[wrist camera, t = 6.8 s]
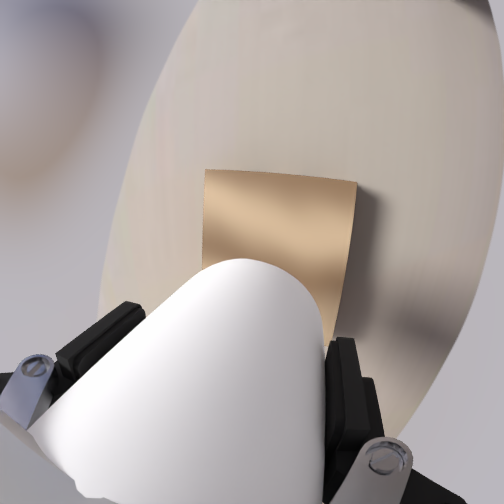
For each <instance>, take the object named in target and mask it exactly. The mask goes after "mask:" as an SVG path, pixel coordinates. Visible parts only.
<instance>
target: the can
mask: <svg viewBox="0 0 504 504" xmlns="http://www.w3.org/2000/svg"><path fill="white" fill-rule="evenodd" d="M325 412H326V404H325V353H324V335H323V325H322V319H321V315H320V312H319V309H318V306H317V304H316V302H315V300H314V299H313V297H312V296H311V294H310V293H309V291H308V290H307V289H306V288H305V287H304V286H303V285H302V284H301V283H300V282H299V281H298V280H297V279H296V278H295V277H293V276H292V275H290V274H289V273H287V272H286V271H284V270H282V269H280V268H278V267H276V266H274V265H271V264H268V263H265V262H261V261H257V260H252V259H232V260H227V261H223V262H220V263H217V264H214V265H212V266H210V267H208V268H206V269H204V270H202V271H201V272H199V273H197V274H196V275H195V276H194V277H192V278H191V279H190V280H189V281H187V282H186V283H185V284H184V285H183V286H182V287H180V288H179V289H178V290H177V291H176V292H175V293H174V294H172V295H171V296H170V297H169V298H168V299H167V300H166V301H164V302H163V303H162V304H161V305H160V306H159V307H158V308H157V309H155V310H154V311H153V312H152V313H151V314H150V315H149V316H148V317H146V318H145V319H144V320H143V321H142V322H141V323H140V324H139V325H138V326H136V327H135V328H134V329H133V330H132V331H131V332H130V333H129V334H128V335H127V336H125V337H124V338H123V339H122V340H121V341H120V342H119V343H118V344H117V345H116V346H115V347H113V348H112V349H111V350H110V351H109V352H108V353H107V354H106V355H105V356H104V357H103V358H102V359H100V360H99V361H98V362H97V363H96V364H95V365H94V366H93V367H92V368H91V369H90V370H89V371H88V372H87V373H85V374H84V375H83V376H82V377H81V378H80V379H79V380H78V381H77V382H76V383H75V384H74V385H73V386H72V387H71V388H70V389H69V390H68V391H66V392H65V393H64V394H63V395H62V396H61V397H60V398H59V399H58V400H57V401H56V402H55V403H54V404H53V405H52V406H51V407H50V408H49V409H48V410H47V411H46V412H45V413H44V414H43V415H42V416H41V417H40V418H39V419H38V420H37V421H36V422H35V423H34V424H33V425H32V426H31V427H30V428H29V429H28V430H27V432H29V433H30V434H31V435H32V436H33V437H34V439H35V441H36V443H37V444H38V446H39V447H40V449H41V450H42V451H43V453H44V454H45V455H46V456H47V457H48V458H49V459H50V460H51V461H52V462H53V463H54V464H55V465H56V466H57V467H58V468H59V469H60V470H62V471H63V472H64V473H65V474H67V475H68V476H69V477H71V478H72V479H74V480H75V484H76V488H77V490H78V491H79V492H80V493H81V494H82V495H83V496H84V497H86V498H103V497H104V498H107V499H109V500H111V501H113V502H115V503H118V504H322V497H323V483H324V464H325Z"/></svg>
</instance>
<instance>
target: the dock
mask: <svg viewBox="0 0 504 504" xmlns="http://www.w3.org/2000/svg"><path fill="white" fill-rule="evenodd" d="M356 190H357V182H352V181H345V180H337V179H329V178H320V177H310V176H301V175H291V174H279V173H266V172H251V171H234V170H209V169H205V184H204V208H203V243H202V270H204V269H206V268H208V267H210V266H212V265H214V264H217V263H220V262H223V261H227V260H232V259H252V260H257V261H261V262H265V263H268V264H271V265H274V266H276V267H278V268H280V269H282V270H284V271H286V272H287V273H289V274H290V275H292V276H293V277H295V278H296V279H297V280H298V281H299V282H300V283H301V284H302V285H303V286H304V287H305V288H306V289H307V290H308V291H309V293H310V294H311V296H312V297H313V299H314V300H315V302H316V304H317V306H318V309H319V312H320V315H321V319H322V325H323V335H324V346H329V343H330V341H331V340H332V337H333V332H334V328H335V323H336V319H337V314H338V309H339V304H340V299H341V294H342V288H343V283H344V277H345V271H346V265H347V259H348V253H349V246H350V239H351V232H352V225H353V217H354V208H355V200H356Z"/></svg>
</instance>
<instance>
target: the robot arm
mask: <svg viewBox="0 0 504 504" xmlns="http://www.w3.org/2000/svg"><path fill="white" fill-rule="evenodd" d="M145 318H146V316H145V311H144V309H142V307H141V305H140V304H136V303H132V302H128V301H125V302H124V303H122V304H121V305H119V306H118V307H117V308H115V309H114V310H113V311H111V312H110V313H108V314H107V315H106V316H104V317H103V318H102V319H100V320H99V321H98V322H96V323H95V324H94V325H92V326H91V327H90V328H88V329H87V330H86V331H84V332H83V333H82V334H80V335H79V336H78V337H76V338H75V339H74V340H72V341H71V342H70V343H68V344H67V345H66V346H64V347H63V348H62V349H61V350H59V351H58V352H57V353H55V354H56V357H57V361H56V362H55V363H54V361H53V360H52V358H50V357H49V356H47V355H43V354H36V355H31V356H29V357H26V358H25V359H24V360H22V361H21V362H20V364H19V365H18V367H17V368H16V370H15V371H14V372H12V373H0V504H118V503H115V502H113V501H111V500H109V499H107V498H104V497H103V498H86V497H84V496H83V495H82V494H81V493H80V492H79V491H78V490H77V488H76V484H75V480H74V479H72V478H71V477H69V476H68V475H67V474H65V473H64V472H63V471H62V470H60V469H59V468H58V467H57V466H56V465H55V464H54V463H53V462H52V461H51V460H50V459H49V458H48V457H47V456H46V455H45V454H44V453H43V451H42V450H41V449H40V447H39V446H38V444H37V443H36V441H35V439H34V437H33V436H32V435H31V434H30V433H29V432H27V430H28V429H29V428H30V427H31V426H32V425H33V424H34V423H35V422H36V421H37V420H38V419H39V418H40V417H41V416H42V415H43V414H44V413H45V412H46V411H47V410H48V409H49V408H50V407H51V406H52V405H53V404H54V403H55V402H56V401H57V400H58V399H59V398H60V397H61V396H62V395H63V394H64V393H65V392H66V391H68V390H69V389H70V388H71V387H72V386H73V385H74V384H75V383H76V382H77V381H78V380H79V379H80V378H81V377H82V376H83V375H84V374H85V373H87V372H88V371H89V370H90V369H91V368H92V367H93V366H94V365H95V364H96V363H97V362H98V361H99V360H100V359H102V358H103V357H104V356H105V355H106V354H107V353H108V352H109V351H110V350H111V349H112V348H113V347H115V346H116V345H117V344H118V343H119V342H120V341H121V340H122V339H123V338H124V337H125V336H127V335H128V334H129V333H130V332H131V331H132V330H133V329H134V328H135V327H136V326H138V325H139V324H140V323H141V322H142V321H143V320H144V319H145ZM325 404H326V412H325V464H324V483H323V497H322V502H323V503H324V504H467V503H466V502H465V500H464V499H462V498H461V497H460V496H458V495H456V494H454V493H452V492H451V491H449V490H447V489H445V488H444V487H442V486H440V485H438V484H437V483H435V482H433V481H432V480H430V479H428V478H427V477H425V476H423V475H422V474H420V473H419V472H417V471H415V470H414V469H412V465H413V456H412V452H411V450H410V449H409V448H408V446H407V445H405V444H404V443H403V442H402V441H400V440H397V439H395V438H390V437H385V435H384V429H383V424H382V419H381V413H380V408H379V404H378V399H377V394H376V390H375V385H374V381H373V379H372V378H369V377H362V376H361V370H360V365H359V360H358V355H357V350H356V345H355V341H354V338H346V337H337V338H336V341H332V340H331V341H330V343H329V347H328V351H327V355H326V359H325Z"/></svg>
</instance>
